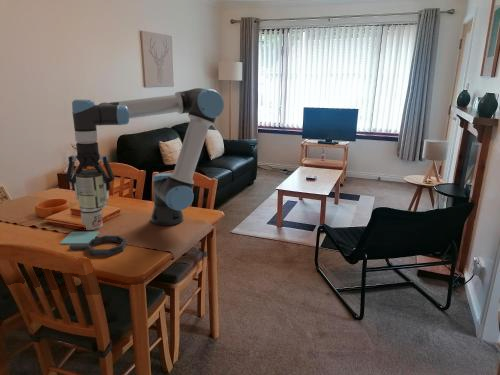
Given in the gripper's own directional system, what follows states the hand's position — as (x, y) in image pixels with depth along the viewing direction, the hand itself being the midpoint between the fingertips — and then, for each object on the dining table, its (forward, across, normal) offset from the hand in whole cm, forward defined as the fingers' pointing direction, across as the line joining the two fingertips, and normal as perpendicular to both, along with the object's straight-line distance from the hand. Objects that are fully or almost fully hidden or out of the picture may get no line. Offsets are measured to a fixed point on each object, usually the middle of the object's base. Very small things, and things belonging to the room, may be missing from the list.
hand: (92, 198), depth 141 cm
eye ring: (+20, -1, +3) cm, 20 cm away
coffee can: (+3, 0, 0) cm, 3 cm away
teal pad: (+20, +9, -7) cm, 23 cm away
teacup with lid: (+20, +7, -21) cm, 30 cm away
